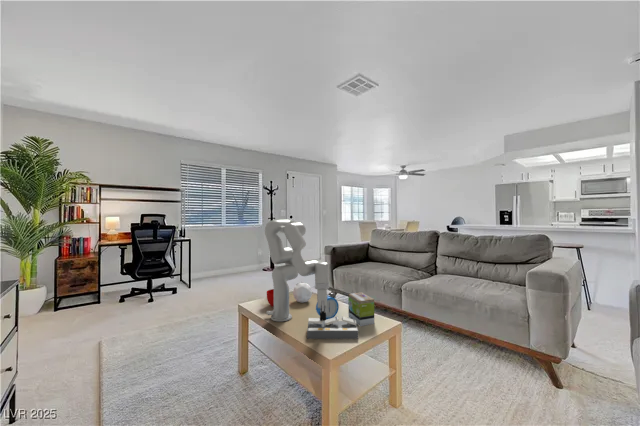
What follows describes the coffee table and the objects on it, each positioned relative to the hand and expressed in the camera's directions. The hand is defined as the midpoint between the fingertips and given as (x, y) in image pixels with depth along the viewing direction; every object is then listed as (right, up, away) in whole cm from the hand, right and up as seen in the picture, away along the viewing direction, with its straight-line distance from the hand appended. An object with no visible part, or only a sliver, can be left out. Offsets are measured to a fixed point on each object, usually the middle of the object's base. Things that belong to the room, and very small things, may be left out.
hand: (323, 319), depth 149 cm
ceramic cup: (-33, -7, +44) cm, 56 cm away
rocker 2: (+5, -1, +1) cm, 5 cm away
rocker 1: (-4, -1, 0) cm, 4 cm away
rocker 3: (+14, -1, +1) cm, 14 cm away
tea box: (+23, -7, +17) cm, 29 cm away
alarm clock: (+3, -7, +20) cm, 22 cm away
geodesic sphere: (-14, -7, +51) cm, 54 cm away
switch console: (+5, -7, -1) cm, 8 cm away
